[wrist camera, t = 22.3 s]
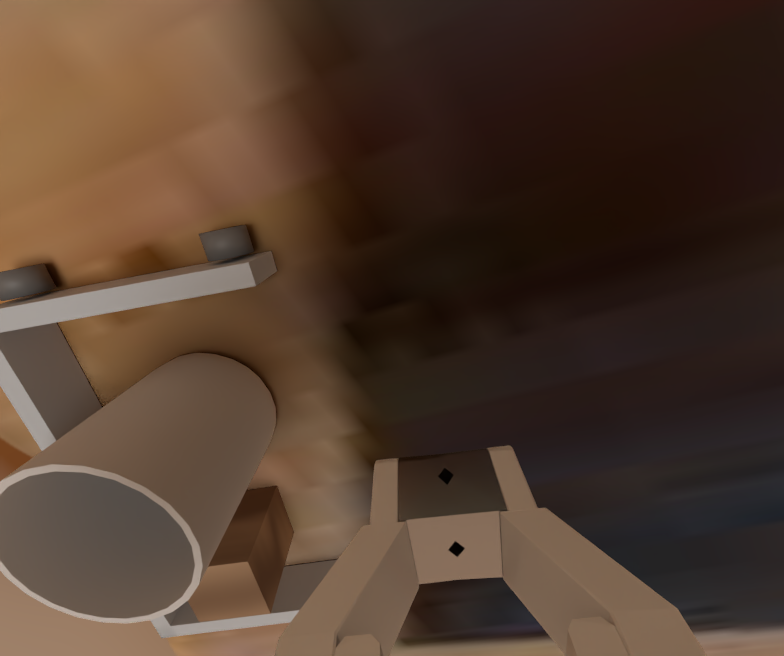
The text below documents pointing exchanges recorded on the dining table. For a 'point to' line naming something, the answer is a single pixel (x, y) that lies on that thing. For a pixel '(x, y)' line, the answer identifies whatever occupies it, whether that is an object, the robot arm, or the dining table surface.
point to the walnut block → (246, 560)
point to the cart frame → (76, 397)
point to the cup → (137, 492)
